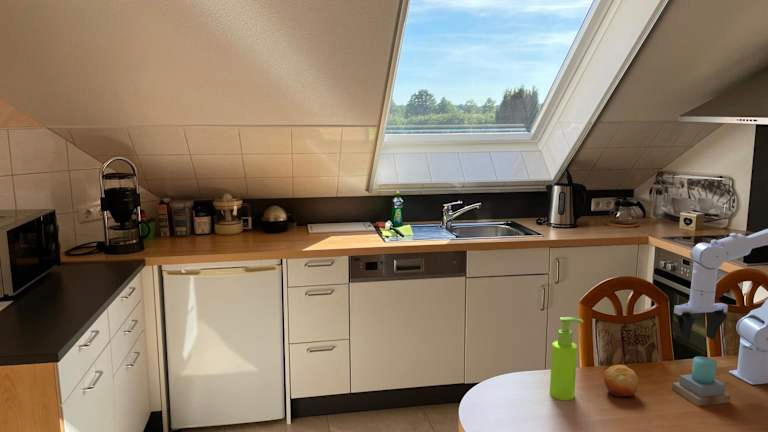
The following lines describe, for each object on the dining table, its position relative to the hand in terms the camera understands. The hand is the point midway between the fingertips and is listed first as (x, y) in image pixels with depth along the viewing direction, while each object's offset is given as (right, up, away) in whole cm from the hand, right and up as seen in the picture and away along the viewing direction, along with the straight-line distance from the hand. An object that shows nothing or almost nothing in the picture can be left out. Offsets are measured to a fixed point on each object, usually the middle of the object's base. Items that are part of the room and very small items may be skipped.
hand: (697, 338), depth 156 cm
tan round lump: (-24, -12, -8) cm, 28 cm away
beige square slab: (-4, -13, -9) cm, 16 cm away
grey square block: (-4, -10, -10) cm, 15 cm away
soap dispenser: (-38, -12, -9) cm, 41 cm away
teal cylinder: (-4, -8, -10) cm, 14 cm away
